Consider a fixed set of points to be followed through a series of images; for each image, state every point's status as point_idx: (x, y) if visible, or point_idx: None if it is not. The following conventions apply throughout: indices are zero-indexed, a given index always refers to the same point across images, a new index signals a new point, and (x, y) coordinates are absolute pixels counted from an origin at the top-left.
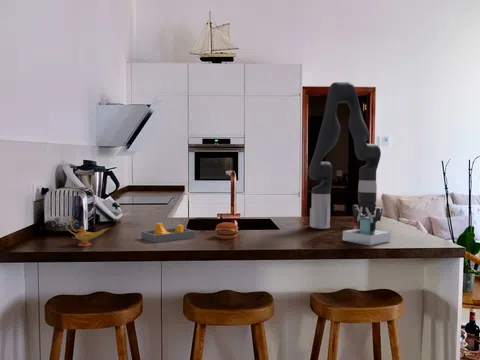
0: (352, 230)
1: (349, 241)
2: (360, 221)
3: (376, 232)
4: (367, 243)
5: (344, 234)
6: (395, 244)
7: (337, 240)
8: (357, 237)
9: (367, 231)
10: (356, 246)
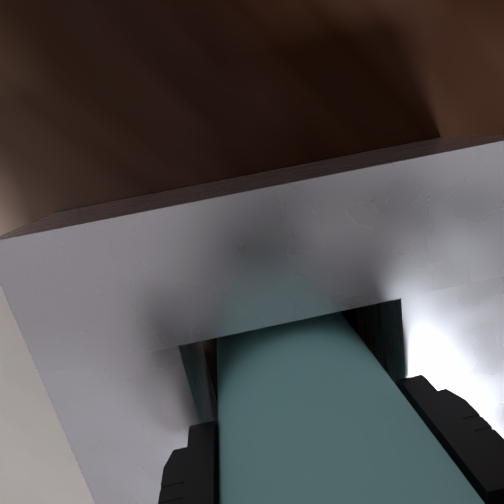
0: (476, 308)
1: (345, 156)
2: (434, 471)
3: None
4: (90, 208)
5: (465, 141)
6: (25, 467)
7: (474, 75)
8: (238, 184)
9: (234, 385)
10: (63, 3)
